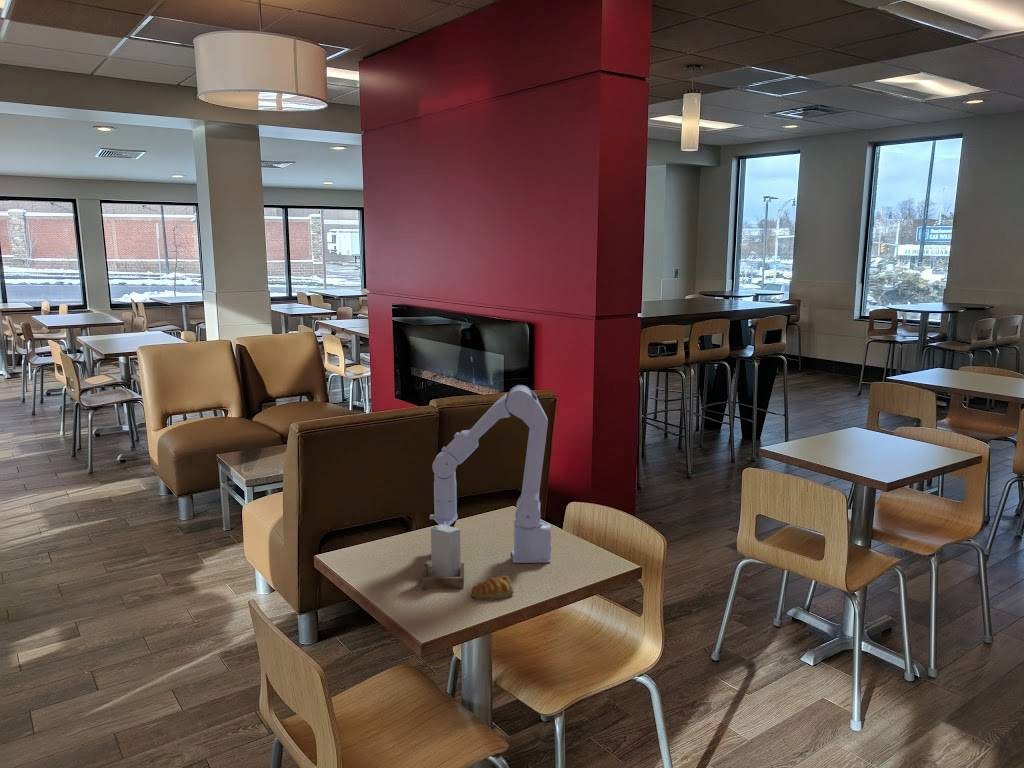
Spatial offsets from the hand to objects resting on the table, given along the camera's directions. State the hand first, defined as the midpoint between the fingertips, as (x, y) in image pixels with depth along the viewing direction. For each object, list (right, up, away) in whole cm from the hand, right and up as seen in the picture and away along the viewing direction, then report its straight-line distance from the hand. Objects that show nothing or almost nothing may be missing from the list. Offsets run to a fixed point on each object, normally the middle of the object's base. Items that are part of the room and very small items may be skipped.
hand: (446, 549), depth 191 cm
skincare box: (+1, -4, -13) cm, 13 cm away
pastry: (+13, -6, -22) cm, 26 cm away
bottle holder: (+1, -4, -14) cm, 15 cm away
